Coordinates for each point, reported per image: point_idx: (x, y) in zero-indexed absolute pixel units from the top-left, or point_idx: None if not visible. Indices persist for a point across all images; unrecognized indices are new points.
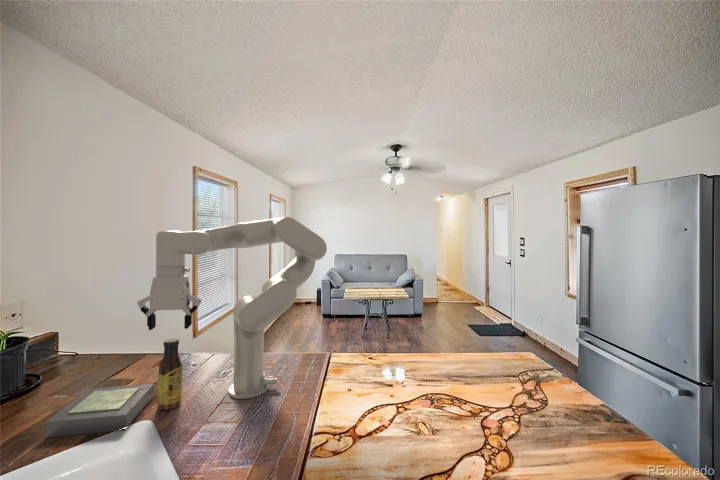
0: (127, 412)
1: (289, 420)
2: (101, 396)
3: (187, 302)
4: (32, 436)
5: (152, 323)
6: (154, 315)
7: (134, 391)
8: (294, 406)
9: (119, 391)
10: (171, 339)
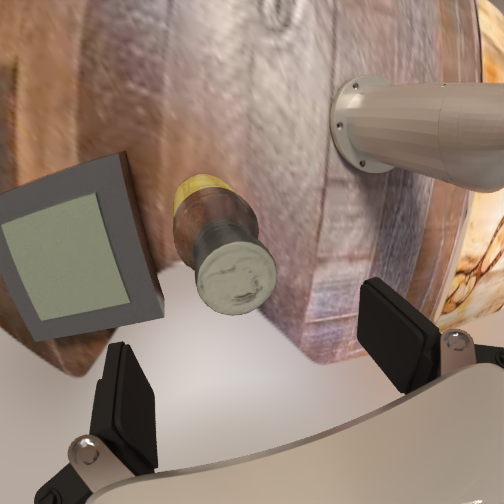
0: (159, 309)
1: (435, 248)
2: (38, 251)
3: (497, 383)
4: (21, 319)
5: (149, 415)
6: (133, 442)
7: (98, 216)
8: (445, 205)
9: (58, 220)
10: (231, 268)
